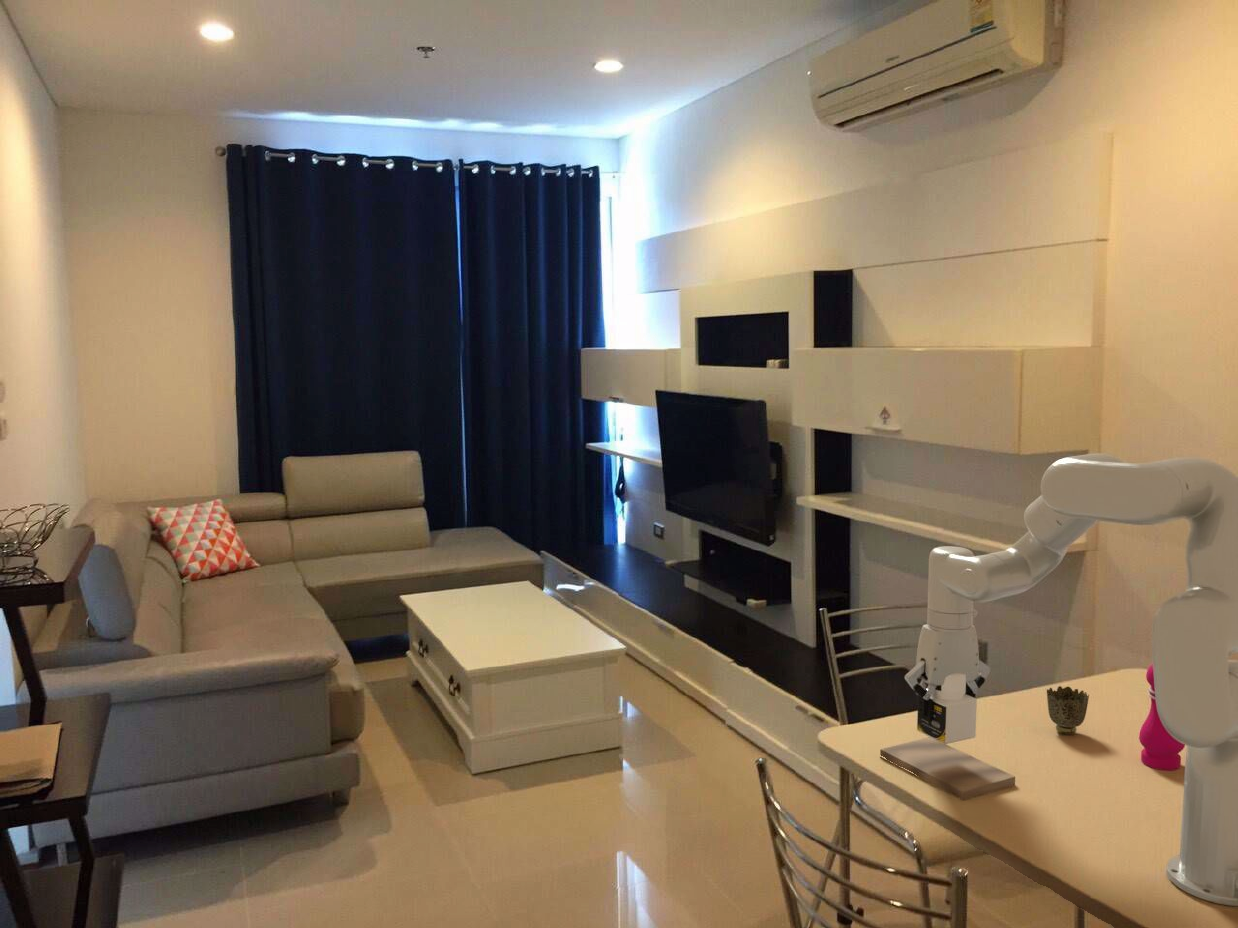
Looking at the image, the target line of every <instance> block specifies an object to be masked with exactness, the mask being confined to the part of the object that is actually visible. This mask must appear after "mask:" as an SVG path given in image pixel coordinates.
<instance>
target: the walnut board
mask: <svg viewBox="0 0 1238 928" xmlns="http://www.w3.org/2000/svg"><path fill="white" fill-rule="evenodd" d="M880 755H881V756H883V757H885V758H886V759H887V760H889V761H891V762H893V763H895V764H897V765H898V766H900V767H903V768H905V769H907V770H909V771H911V772H913V773H914V774H916V775H917V776H919V777H920V778H919V777H918V778H919V779H921V778H922V780H923V779H924V780H923V781H925V780H926V781H925V782H927V783H929V784H931V785H933V786H935V787H937V788H939V789H941V790H942V791H945V792H946V793H949V794H950V795H952V796H954V797H956V798H958V799H960V800H962V801H964V800H965V801H966V800H968V799H971V798H975V797H979V796H982V795H986V794H990V793H992V792H993V793H994V792H997V791H998V790H1002V789H1006V788H1010V787H1013V786H1015V785H1016V776H1015V775H1012V774H1011V773H1008V772H1007V771H1004V770H1002V769H1000V768H998V767H996V766H993V765H991V764H989V763H987V762H985V761H983V760H981V759H979V758H976V757H974V756H972V755H969V754H967V753H965V752H963V751H962V750H959V749H957V748H955V747H952V746H951V745H948V744H943V743H941V742H939V741H937V740H935V739H933V738H931V737H929V736H927V737H923V738H920V739H915V740H912V741H909V742H903V743H900V744H897V745H896V744H895V745H893V746H889V747H888V746H887V747H883V748H880V754H879V756H880ZM887 760H886V761H887ZM898 766H897V767H898ZM900 767H899V768H900ZM914 774H913V775H914ZM917 776H916V777H917Z"/></svg>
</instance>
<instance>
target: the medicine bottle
mask: <svg viewBox="0 0 1238 928" xmlns="http://www.w3.org/2000/svg"><path fill="white" fill-rule="evenodd" d="M965 693H966V675H965V674H960V673H958V674H952V675H949V676H947V677H946V678H945V681H944V684H943V685H940V686H937V687H936V688H935V690H934V692H933V694H932V696H931V698H930V699H932V700H933V721H932V722H928V721H926V720H924V719H923V718H921V717H920V716H919V695H917V719H916V721H917V722H916V723H917V725H916V731H917V732H919V733H921V734H923V735H925V736H927V737H931V738H933V739H935V740H937V741H939V742H941V743H943V744H946V745H948V744H953V743H956V742H961V741H962V742H963V741H966V740H971V739H975V738H976V735H977V734H976V733H977V732H976V731H977V706H978V705H977V704H978V703H977V702H978V701H977V698H976V697H975V698H974V697H971V696H969V695H967V694H965Z"/></svg>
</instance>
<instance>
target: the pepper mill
mask: <svg viewBox="0 0 1238 928" xmlns="http://www.w3.org/2000/svg"><path fill="white" fill-rule="evenodd" d="M1145 677H1146V681H1147V683H1148V684H1149V685H1150V686H1149V688H1148V693H1147V694H1148V697H1149V698H1150V709H1149V713H1148V714H1147V717H1146V718H1145V720H1144V721H1143V724H1142V725H1141V727H1140V730H1139V736H1138V740H1139V742H1140V744H1141V745H1142V747H1143V749H1142V750H1141V753H1140V755H1141V756H1140V760H1141V761H1140V762H1142V764H1144V765H1146V766H1147V767H1150V768H1153V769H1157V770H1162V771H1174V770H1175V771H1176V770H1178V769H1179V768H1181V764H1182V763H1181V762H1182V756H1181V755H1180V754H1179V753H1181V752H1182V751H1183V750H1184V748H1185V746H1186V745H1184V744H1182V743H1180V742H1179V741H1177V740H1176V739H1175V738H1173V737H1172V736H1171V735H1170V734H1169V733H1168V731H1167V730H1166V729H1165V727H1164V726H1163V724H1162V722H1161V720H1160V717H1159V715H1158V711H1157V706H1156V699H1155V687H1154V671H1153V663H1152V664H1151V665H1150V666H1149V667H1148V668H1147V671H1146V674H1145Z"/></svg>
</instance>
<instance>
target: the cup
mask: <svg viewBox="0 0 1238 928" xmlns="http://www.w3.org/2000/svg"><path fill="white" fill-rule="evenodd" d="M1046 696H1047V697H1046V698H1047V708H1048V714H1049V718H1050V719H1051V721H1052V722H1053V723H1054V724H1055V725H1056V726H1055V729H1056V731H1057V732H1058V733H1059V734H1061V735H1064V736H1072V735H1075V734H1076V733H1077V729H1078V728H1077V727H1079V726H1081V725H1082V724H1083V723H1084V721H1085V718H1086V715H1087V710H1088V704H1089V699H1090V694H1087V691H1085V692H1084V690H1083V689H1082V690H1081V691H1080V692H1079V689H1078V688H1075V689H1074V690H1073V689H1072V688H1071V687H1070V686H1065V687H1062V686H1061V685H1058V687H1057V688H1056V690H1054V689H1053V688H1052V687H1049V689H1046Z"/></svg>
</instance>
